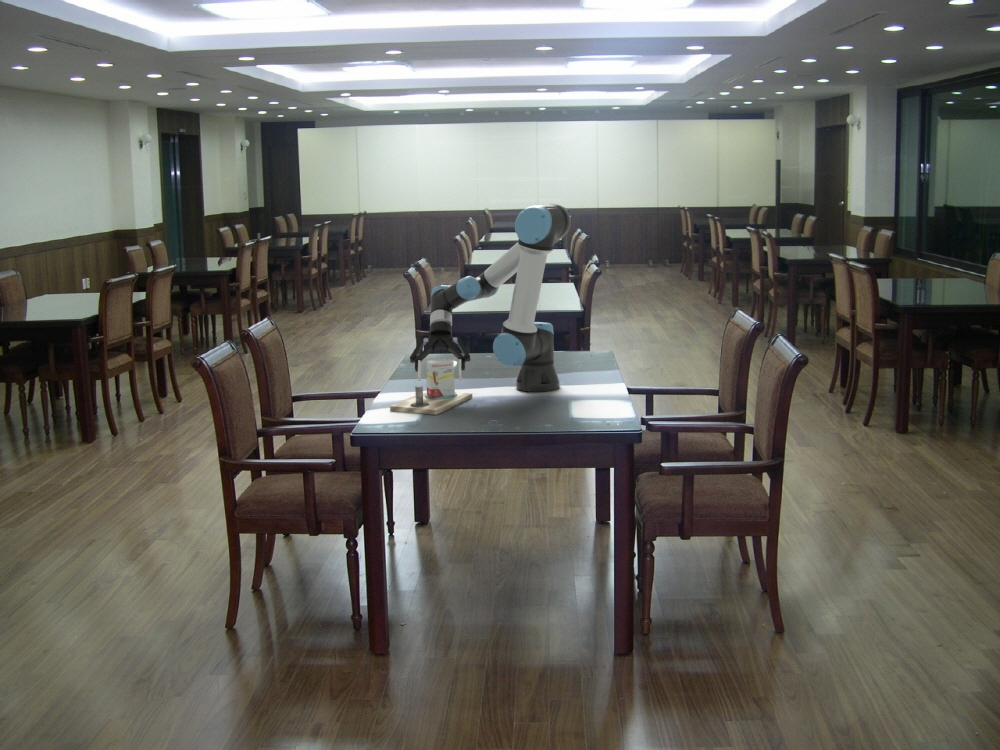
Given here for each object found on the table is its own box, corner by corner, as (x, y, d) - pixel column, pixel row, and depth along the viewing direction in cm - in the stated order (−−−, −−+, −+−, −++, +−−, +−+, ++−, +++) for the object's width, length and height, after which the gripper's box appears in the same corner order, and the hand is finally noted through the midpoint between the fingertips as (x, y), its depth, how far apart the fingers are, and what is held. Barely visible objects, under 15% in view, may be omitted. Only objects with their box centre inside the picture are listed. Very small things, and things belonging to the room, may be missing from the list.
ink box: (430, 397, 348) (429, 362, 345) (426, 394, 352) (425, 360, 350) (455, 395, 351) (454, 360, 348) (451, 392, 355) (449, 358, 353)
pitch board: (472, 397, 354) (471, 375, 352) (436, 414, 332) (435, 391, 330) (428, 394, 361) (427, 372, 360) (390, 410, 339) (388, 387, 338)
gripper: (477, 331, 363) (477, 383, 351) (405, 333, 363) (403, 385, 352) (476, 318, 356) (476, 371, 345) (403, 320, 357) (400, 373, 345)
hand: (439, 378), depth 348 cm, fingers open, 13 cm apart
